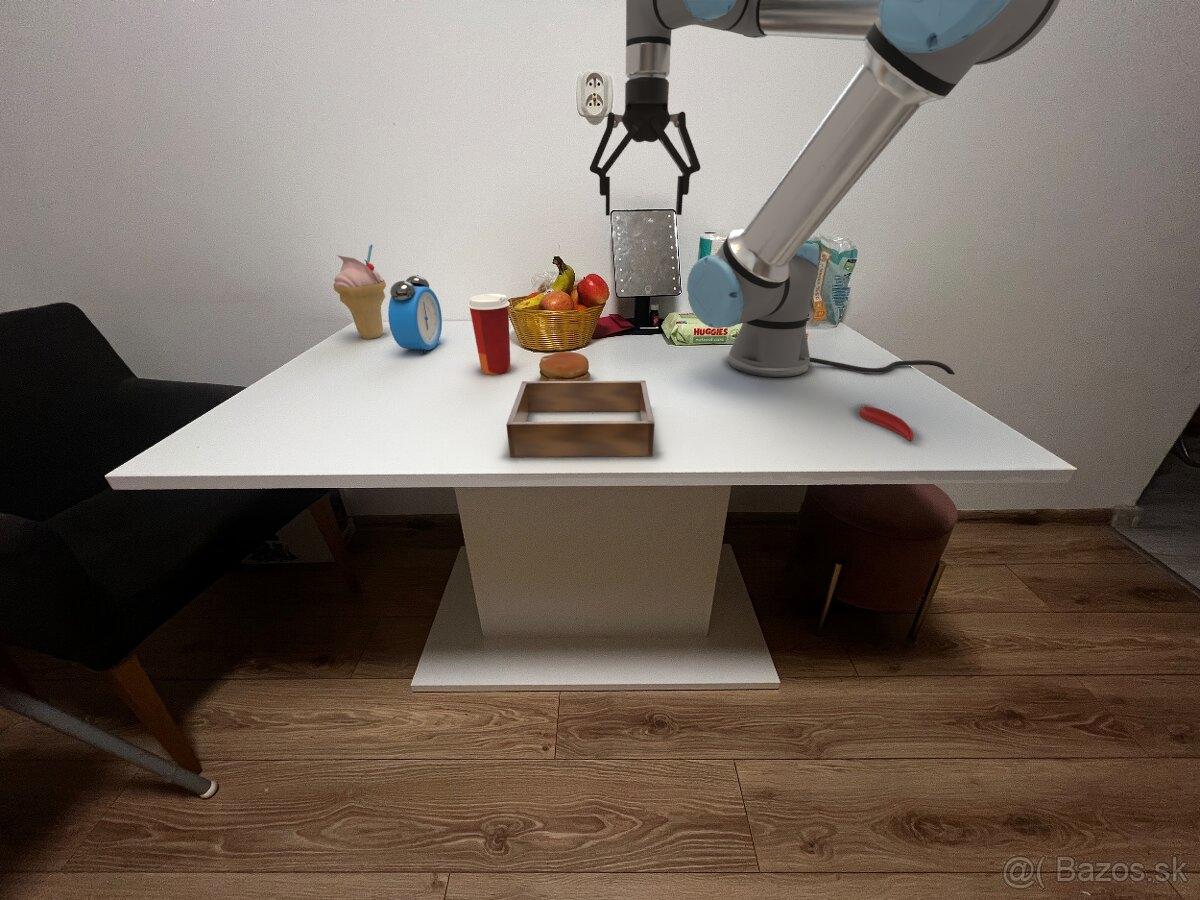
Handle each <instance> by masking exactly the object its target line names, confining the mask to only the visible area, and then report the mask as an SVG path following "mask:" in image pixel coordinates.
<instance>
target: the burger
mask: <svg viewBox="0 0 1200 900" xmlns="http://www.w3.org/2000/svg"><path fill="white" fill-rule="evenodd" d="M538 366H539V375H540V377H539V381H591V373H590V372H589V369H590V363H589V359H588V358H587V357H586V356H585V355H584V354H582V353H579V352H575V351H573V352H572V351H558V352H554V353H551V354H547V355H544V356H542V357H541V358H540V361H539V364H538Z"/></svg>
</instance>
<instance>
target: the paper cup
mask: <svg viewBox="0 0 1200 900" xmlns="http://www.w3.org/2000/svg"><path fill="white" fill-rule="evenodd" d="M510 304H511V303H510V301H509V300H508V297H507V295H505V294H502V293H481V294H475V295H472V296H470V298H469V299H468V303H467V308H469V311H470V318H471V322H472V328H473V332H474V339H475V344H476V349H477V354H478V360H479V364H480V368H481V373H483V374H484V375H489V376H496V375H497V376H498V375H503V374H506V373H508V372H510V371H511V337H510V315H509V306H510Z"/></svg>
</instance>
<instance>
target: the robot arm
mask: <svg viewBox="0 0 1200 900" xmlns="http://www.w3.org/2000/svg"><path fill="white" fill-rule="evenodd" d="M1060 2H1061V0H625V71H624V73H625V77H626V78H627V79H628V80H626V82H625V83H624V112H623V114H619V113H614V112H613V111H609V112H608V114H607V117H606V118H607V119H606V127H605V131H604V132H603V135H602V137H601V139H600V142H599V144H598V146H597V149H596V151H595V153H594V156H593V159H592V161H591V163H590V166H589V172H590V173H593V174H596V175H597V176H598V179H599V195H600V196H602V197H603V196H604V197H605V216H606V217H607V216H609V217H610V216H611V176H607V173H608V172H609V171H610V170H611V168H612V167H613V165H614V164H615V163H616V161H617V160H618V158H619V157H620V156H621V154H622V153H623V151H625V149H626V147H628V145H629V143H630V142H631V141H634V142H635V143H643V142H647V143H654V142H657V141H659V143H660V144H661V145H662V146H663V148H664V149H665V151H666V152H667V154H668V155H669V156H670V158H671V159H672V161H673V163H674V164H675V165H676V167H677V168H678V169H679V171H680V172H681V175H678V176H677V186H676V200H675V201H676V203H675V204H676V205H675V215H677V216H682V213H683V197H684V196H688V195H689V192H690V178H691V176H692V174H694V173H697V172H699V171H700V170H701V164H700V161H699V158H698V156H697V153H696V150H695V147H694V143H693V142H692V139H691V136H690V133H689V130H688V127H687V118H686V112H685V111H680V112H678V113H671V114H670V112H669V92H670V91H669V90H670V82H669V80H668V79H667V77H669V75H670V73H671V71H670V70H671V47H672V46H671V45H672V32H673V30H677V29H680V28H684V27H688V26H689V27H690V26H699V27H700V26H701V27H705V28H709V29H714V30H719V31H723V32H729V33H732V34H733V33H734V34H738V35H741V36H742V35H743V37H747V38H752V39H757V38H758V39H759V38H760V39H762V38H766V37H768V36H769V37H771V36H772V37H783V38H784V37H786V38H802V39H803V38H804V39H819V40H821V39H823V40H837V41H838V40H839V41H858V42H863V49H864V51H863V52H864V54H863V55H864V56H863V60H862V63H861V65H860V66H859V68H858V69H857V70H856V71H855V73H854V75H853V76H852V77H851V79H850V80H849V81H848V83H847V84H846V86H844V88H843V90H842V91H841V92H840V94H839V95H838V97H837V99H836V100H835V101H834V103H833V104H832V105H831V107H830V108H829V110H828V111H827V112H826V114H825V115H824V117H823V118H822V119H821V121H820V122H819V124H818V125H817V127H816V128H815V130H814V131H813V132H812V133H811V135H810V137H809V138H808V139H807V141H806V142H805V144H804V145H803V147H801V149H800V151H799V152H798V154H797V155H796V156H795V158H794V159H793V160H792V162H791V163H790V165H789V166H788V168H786V170H785V172H784V173H783V175H782V176H781V177H780V178H779V180H778V181H777V183H776V184H775V186H774V187H773V188H772V190H771V192H769V194H768V195H767V197H766V198H765V200H764V201H763V203H762V204H761V206H760V207H759V208H758V210H757V211H756V212H755V213H754V215H753V217H752V218H751V220H750V221H749V223H748V224H747V225H746V226H745V227H737V228H735V229H733V230H732V231H731V232H730V233H729V234H728V236H727V237H726V239H724V241H723V243H722V244H721V246H719V249H718V250H717V252H715V254H709V255H705V256H703V257H702V258H700V259H698V260H697V261H696V262H695V263H694V264H693V265H692V267H691V269H690V271H689V273H688V276H687V282H686V283H687V284H686V292H687V294H688V296H687V299H688V304H689V306H690V308H691V310H692V312H693V314H694V315H695V317H696V318H697V319H698V320H699V321H700V322H701V323H702V324H704V325H705V326H707V327H710V328H713V329H723V328H731V327H735V326H738V325H740V324H741V327H740V328H739V331H738V333H737V335H736V337H735V339H734V342H733V344H732V346H731V348H730V350H729V354H728V364H729V365H730V366H731V367H732V368H734V369H736V370H738V371H740V372H742V373H746V374H749V375H753V376H759V377H769V378H787V377H795V376H799V375H803V374H805V373H806V372H807V371H808V370H809V366H810V363H814V364H819V365H825V366H828V367H829V366H830V367H835V368H840V369H845V370H848V371H849V370H850V371H854V372H860V373H870V374H881V373H886V372H888V371H890V370H892V369H894V368H896V367H900V366H933V367H937V368H939V369H942V370H943V371H945V372H946V373H947V374H948V375H955V374H956V373H955V372H954V370H953V369H952V368H951V366H949V365H947V364H945V363H943V362H940V361H937V360H928V359H915V360H895V361H893V362H891V363H889V364H888V365H886V366H883V367H865V366H864V367H863V366H857V365H853V364H849V363H842V362H839V361H838V362H837V361H833V360H832V361H831V360H827V359H822V358H816V357H810V356H811V355H810V350H809V343H808V342H809V341H808V337H807V323H808V319H809V313H810V309H811V308H810V307H811V304H812V297H813V292H814V287H815V282H816V277H817V273H818V272H817V271H818V270H819V257H820V249H819V247H818V246H817V245H815V244H813V243H807V241H808V240H809V239H810V238H811V237H812V236H813V234H814V233H815V232H816V230H817V229H818V228H819V227H820V226H821V225H822V224H823V223H824V221H826V219H827V218H828V217H829V215H830V214H832V212H833V210H834V209H835V208H836V207H837V206H838V205H839V203H840V202H841V201H842V200H843V199H844V198H845V196H846V195H847V194H848V193H849V192H850V190H851V189H852V188H853V187H854V185H856V183H857V182H858V181H859V180H860V179H861V177H862V176H863V175H864V174H865V173H866V172H867V170H868V169H869V168H870V167H871V165H873V163H874V162H875V161H876V160H877V159H878V158H879V156H880V155H881V154H882V153H883V152H884V150H885V149H886V148H887V147H888V145H889V144H890V143H891V142H892V141H893V139H895V138H896V136H897V135H898V134H899V132H900V131H902V129H903V128H904V127H905V125H906V124H907V123H908V122H909V121H910V120H911V118H912V117H913V116H914V114H915V113H917V112H918V110H919V109H920V108H921V107H922V106H924V105H925V104H928V103H932V102H936V101H939V100H943V99H945V98H946V97H948V95H949V94H950V93H951V92H952V91H953V89H954V88H955V87H956V86H957V85H958V84H959V82H960V81H961V80H963V78H964V77H965V76H966V75H967V74H968V72H969V71H970V70H971V69H972V68H973V67H974V66H980V65H981V66H982V65H987V64H991V63H996V62H998V61H1000V60H1003V59H1005V58H1007V57H1009V56H1011V55H1013V54H1015V53H1017V52H1018V51H1020V50H1021V49H1022V48H1024V47H1025V46H1026V45H1027V44H1028V43H1030V42H1031V41H1032V40H1033V39H1034V38H1035V37H1036V36H1037V35H1038V34H1039V33H1041V31H1042V30H1043V28H1044V27H1045V26H1046V25H1047V24H1048V22H1049V21H1050V20H1051V18H1052V16H1053V14H1054V13H1055V11H1056V10H1057V9H1058V7H1059V4H1060ZM620 123H622V124H623V126H624V129H625V130H626V131H627V132H626V134H625V135H624V137H623V138H622V140H621V141H620V142H619V144H618V145H617V147H616V148H615V149H614V150H613V152H612V153H611V154H610V156H609V157H608V158H607V160H606V161H605V163H604V164H603V166H601V167H600V166H599V164H600V162H601V160H602V158H603V155H604V153H605V150H606V147H607V145H608V143H609V141H610V138H611V136H612V135H613V130H614V129H617V128H618V126H619V124H620ZM670 123H672V125H673V127H674V128H676V129H677V132H678V136H679V138H680V140H681V143H682V146H683V149H684V151H685V154H686V157H687V159H688V163H689V166H688V164H687V163H686V161H685V160H684V158H683V157H682V156H681V154H680V153H679V151H678V149H677V148H676V147H675V145H674V144H673V142H672V141H671V140H670V137H669V136H668V134H667V132H665V131H666V128H667V127H668V125H669V124H670Z"/></svg>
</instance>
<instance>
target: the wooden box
mask: <svg viewBox="0 0 1200 900" xmlns="http://www.w3.org/2000/svg"><path fill="white" fill-rule="evenodd" d="M650 401H651V400H650V396H649V391H648V387H647V382H646V380H589V381H540V380H539V381H538V380H536V381H535V380H534V381H532V380H531V381H528V380H527V381H522V382H521V384H520V387H519V389H518V392H517V395H516V398H515V401H514V403H513V406H512V407H511V408H512V409H511V411H510V414H509V417H508V420H507V422H506V433H507V434H506V435H507V442H508V443H507V444H508V452H509V453H508V454H509V457H510V458H525V457H526V458H529V457H530V458H543V457H544V458H548V457H550V458H552V457H554V458H555V457H556V458H558V457H559V458H560V457H561V458H562V457H563V458H564V457H566V458H569V457H654V442H655V441H654V440H655V420H654V415H653V411H652V410H653V409H652V406H651V402H650ZM537 412H538V413H540V412H541V413H544V412H545V413H549V412H550V413H551V412H554V413H555V412H556V413H557V412H559V413H561V412H565V413H566V412H639V414H640V420H578V421H577V420H572V421H571V420H569V421H568V420H567V421H562V420H561V421H557V420H555V421H553V420H552V421H527V420H528V416H529V413H537Z"/></svg>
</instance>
